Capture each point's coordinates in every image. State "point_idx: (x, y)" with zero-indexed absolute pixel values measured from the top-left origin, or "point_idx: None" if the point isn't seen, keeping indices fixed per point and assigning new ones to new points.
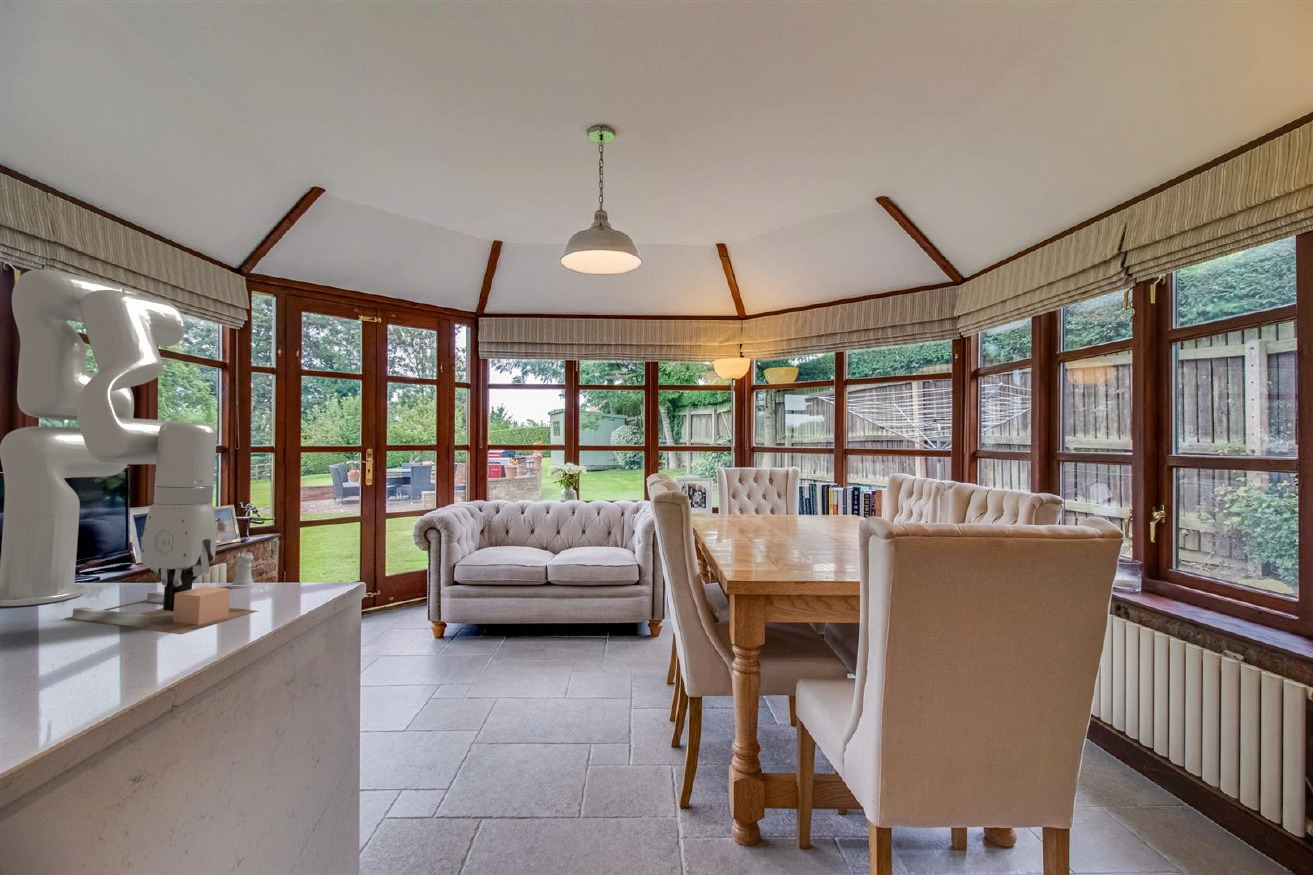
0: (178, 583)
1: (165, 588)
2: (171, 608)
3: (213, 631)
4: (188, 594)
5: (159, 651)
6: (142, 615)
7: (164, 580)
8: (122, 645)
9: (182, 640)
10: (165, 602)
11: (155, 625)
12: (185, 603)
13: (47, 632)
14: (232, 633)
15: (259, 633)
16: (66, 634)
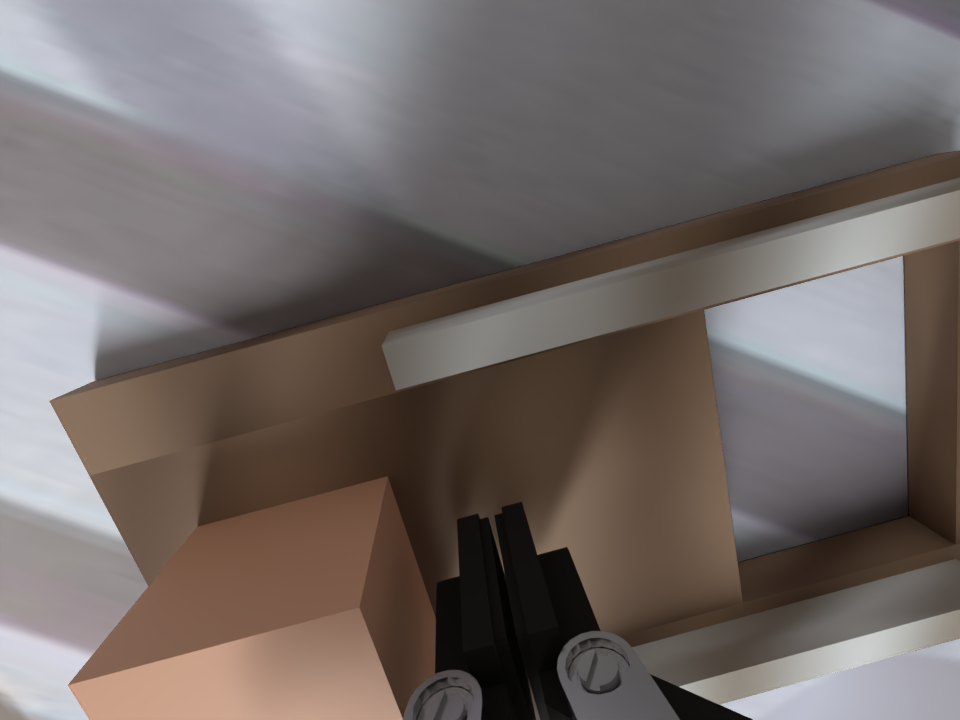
0: (423, 713)
1: (544, 613)
2: (458, 528)
3: None
4: (208, 651)
5: (30, 264)
6: (447, 364)
7: (605, 677)
8: (314, 199)
9: None
10: (514, 535)
11: (376, 389)
12: (261, 582)
13: (928, 69)
14: (112, 593)
15: (11, 661)
16: (796, 113)
